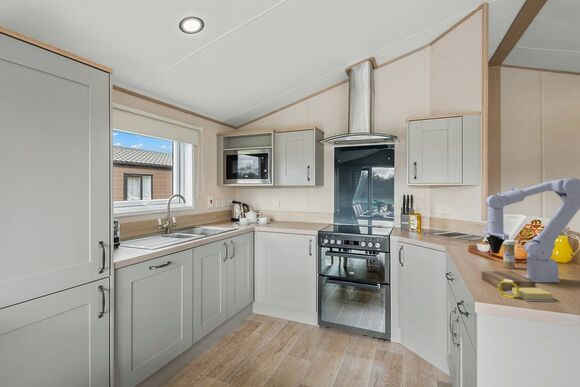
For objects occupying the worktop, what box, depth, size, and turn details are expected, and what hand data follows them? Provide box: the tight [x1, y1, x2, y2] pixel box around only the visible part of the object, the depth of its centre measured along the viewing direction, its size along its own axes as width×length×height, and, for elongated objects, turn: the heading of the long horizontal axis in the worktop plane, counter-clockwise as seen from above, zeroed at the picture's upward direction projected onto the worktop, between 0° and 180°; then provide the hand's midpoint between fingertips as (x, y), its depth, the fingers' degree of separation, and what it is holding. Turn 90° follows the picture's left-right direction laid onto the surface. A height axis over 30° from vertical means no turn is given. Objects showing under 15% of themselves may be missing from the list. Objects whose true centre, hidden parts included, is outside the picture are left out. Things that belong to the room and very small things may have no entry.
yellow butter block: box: [511, 287, 553, 300], centre depth 100 cm, size 9×6×2 cm, turn 84°
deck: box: [481, 270, 537, 291], centre depth 113 cm, size 12×13×4 cm
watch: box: [497, 279, 519, 299], centre depth 101 cm, size 6×3×6 cm, turn 37°
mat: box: [505, 290, 556, 303], centre depth 101 cm, size 9×10×1 cm
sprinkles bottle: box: [502, 239, 516, 270], centre depth 135 cm, size 5×5×14 cm
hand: (495, 253), depth 123 cm, fingers closed
